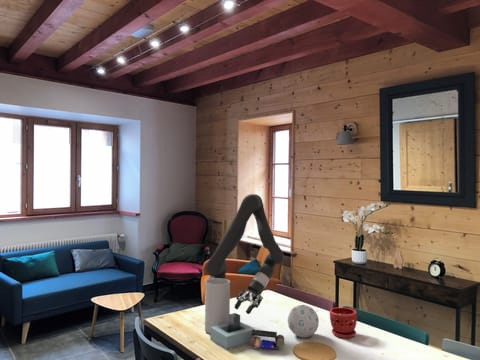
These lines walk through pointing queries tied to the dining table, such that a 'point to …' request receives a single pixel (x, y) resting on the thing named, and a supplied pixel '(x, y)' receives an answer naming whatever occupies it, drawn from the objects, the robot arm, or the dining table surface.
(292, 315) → the puzzle ball
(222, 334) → the well block
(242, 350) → the dining table surface
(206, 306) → the cylinder vase
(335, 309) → the plant pot
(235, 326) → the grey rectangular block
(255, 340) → the figurine character
